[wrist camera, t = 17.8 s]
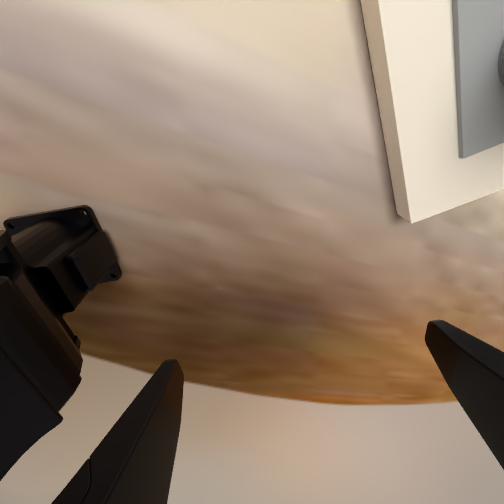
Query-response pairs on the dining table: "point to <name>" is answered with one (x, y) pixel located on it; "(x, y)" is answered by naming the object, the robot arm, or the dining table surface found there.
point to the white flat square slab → (438, 99)
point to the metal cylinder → (501, 64)
